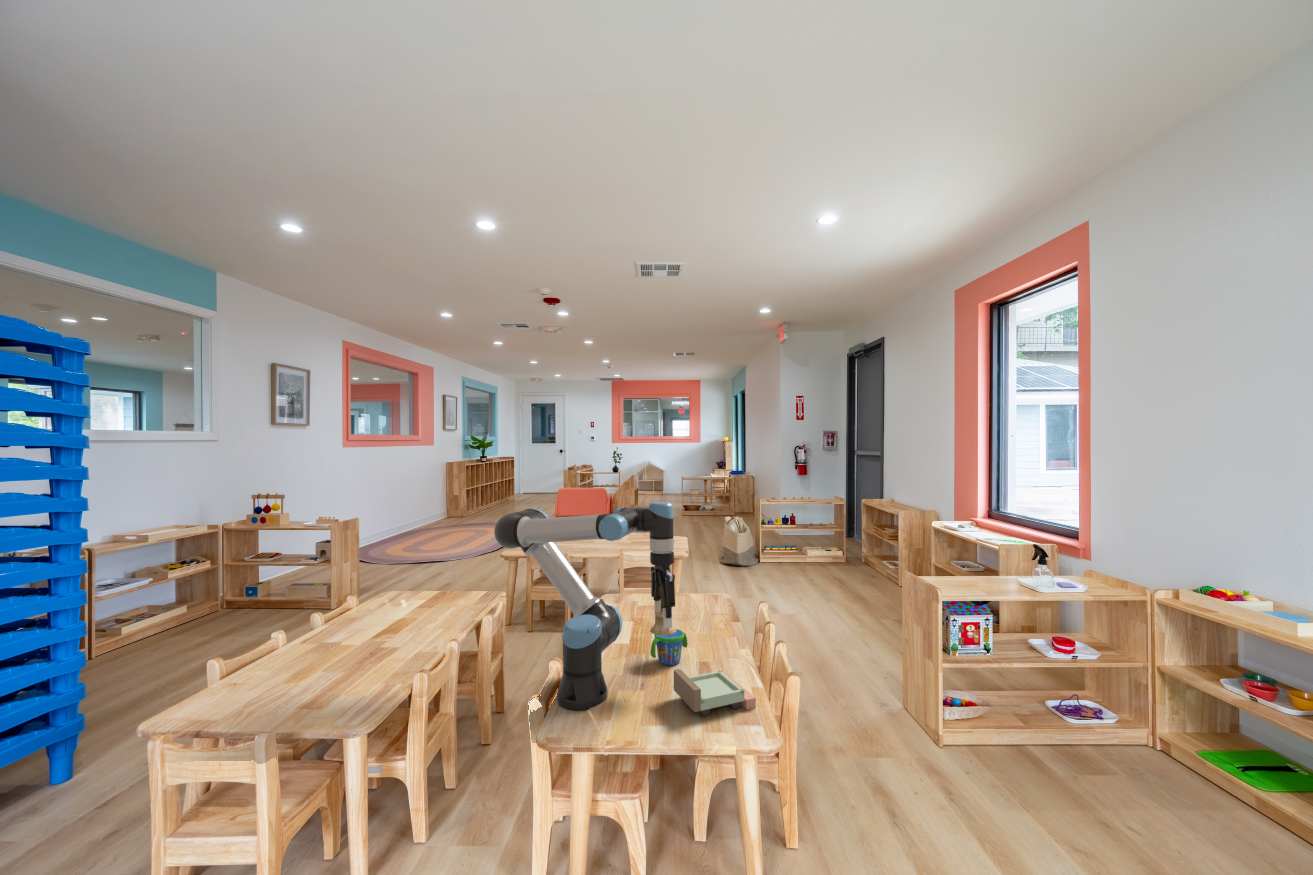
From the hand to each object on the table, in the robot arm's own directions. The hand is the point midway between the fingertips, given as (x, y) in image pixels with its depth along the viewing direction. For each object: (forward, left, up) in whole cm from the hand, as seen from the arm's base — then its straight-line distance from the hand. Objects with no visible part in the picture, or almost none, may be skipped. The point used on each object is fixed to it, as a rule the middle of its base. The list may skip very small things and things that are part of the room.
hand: (663, 624), depth 163 cm
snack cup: (+10, +17, -20) cm, 28 cm away
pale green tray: (+9, -15, -19) cm, 26 cm away
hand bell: (0, 0, -2) cm, 2 cm away
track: (+4, -15, -20) cm, 25 cm away
